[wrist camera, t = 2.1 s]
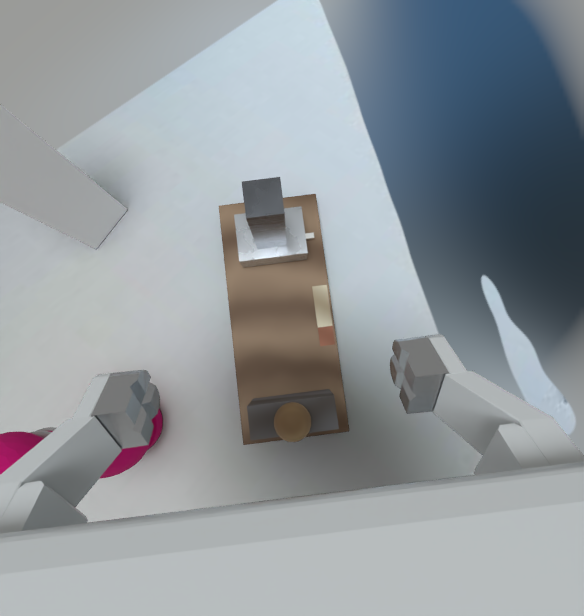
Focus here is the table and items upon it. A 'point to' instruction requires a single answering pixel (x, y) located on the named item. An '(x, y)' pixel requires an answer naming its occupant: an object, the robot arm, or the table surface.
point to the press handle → (269, 226)
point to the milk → (52, 186)
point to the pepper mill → (14, 445)
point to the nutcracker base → (284, 338)
